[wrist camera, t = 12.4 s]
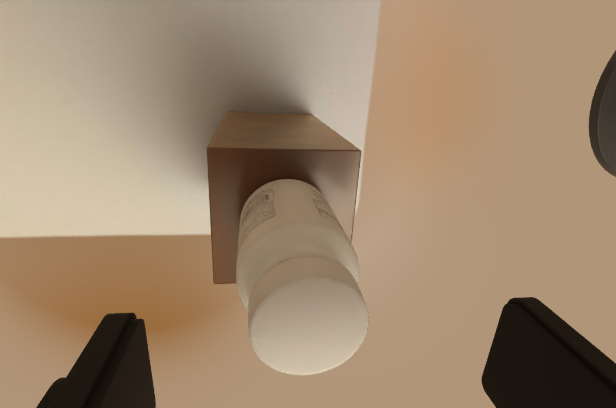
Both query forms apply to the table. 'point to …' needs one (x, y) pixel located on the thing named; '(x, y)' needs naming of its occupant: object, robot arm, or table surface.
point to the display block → (273, 172)
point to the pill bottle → (298, 280)
